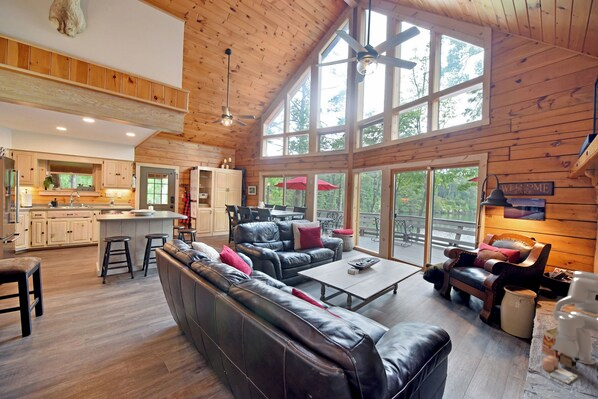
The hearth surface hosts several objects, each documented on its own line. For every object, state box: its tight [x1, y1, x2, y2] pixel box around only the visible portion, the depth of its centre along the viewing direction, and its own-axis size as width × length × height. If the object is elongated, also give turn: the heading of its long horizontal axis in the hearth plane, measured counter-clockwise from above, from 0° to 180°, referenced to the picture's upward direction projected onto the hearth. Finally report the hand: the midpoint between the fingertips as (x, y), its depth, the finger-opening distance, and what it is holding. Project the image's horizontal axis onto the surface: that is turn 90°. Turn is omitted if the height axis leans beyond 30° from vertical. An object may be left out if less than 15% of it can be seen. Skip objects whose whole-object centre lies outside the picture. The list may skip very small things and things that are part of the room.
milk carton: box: [541, 326, 563, 360], centre depth 175 cm, size 9×9×20 cm
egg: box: [542, 357, 555, 373], centre depth 159 cm, size 5×5×6 cm
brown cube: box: [559, 353, 573, 369], centre depth 161 cm, size 5×5×5 cm
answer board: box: [549, 367, 579, 385], centre depth 153 cm, size 14×8×1 cm, turn 116°
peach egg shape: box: [546, 355, 559, 370], centre depth 162 cm, size 5×5×6 cm
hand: (567, 363), depth 161 cm, fingers closed on brown cube, 5 cm apart
